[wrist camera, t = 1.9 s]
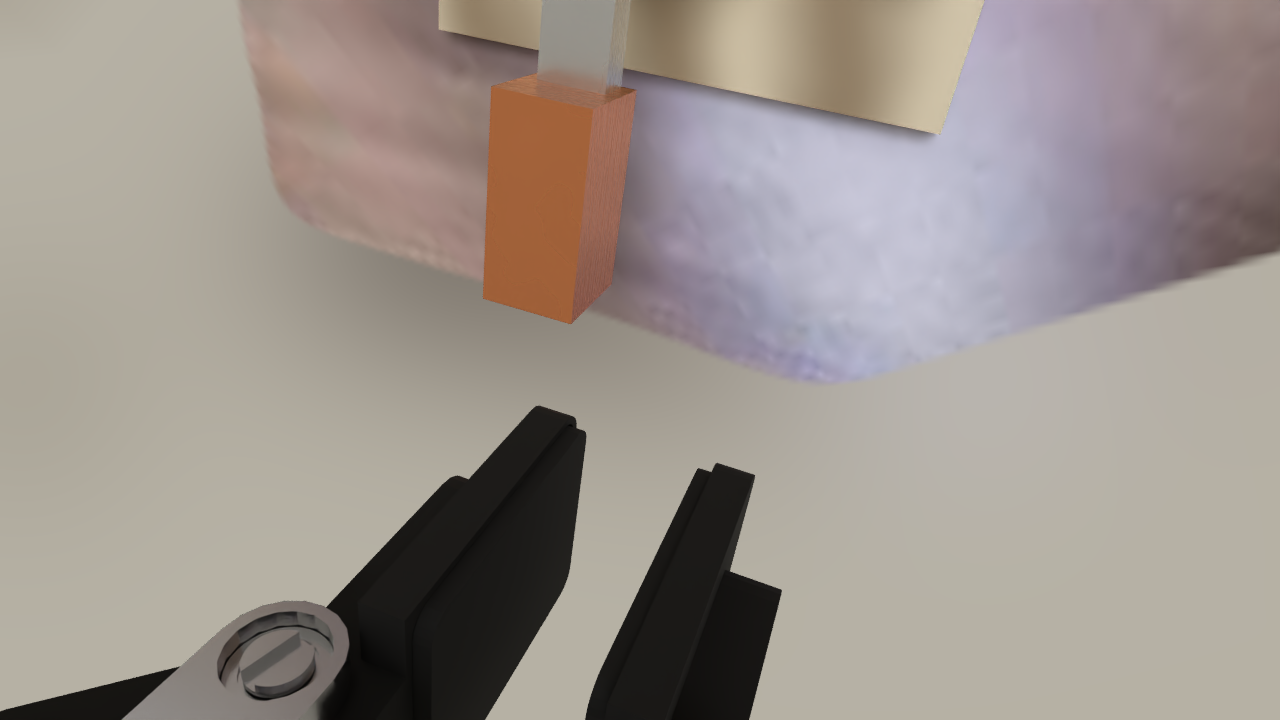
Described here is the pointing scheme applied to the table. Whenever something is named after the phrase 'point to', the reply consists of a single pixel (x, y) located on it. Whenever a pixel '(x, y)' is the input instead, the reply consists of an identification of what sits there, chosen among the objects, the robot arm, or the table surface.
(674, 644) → the robot arm
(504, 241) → the lever
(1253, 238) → the table surface
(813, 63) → the board
